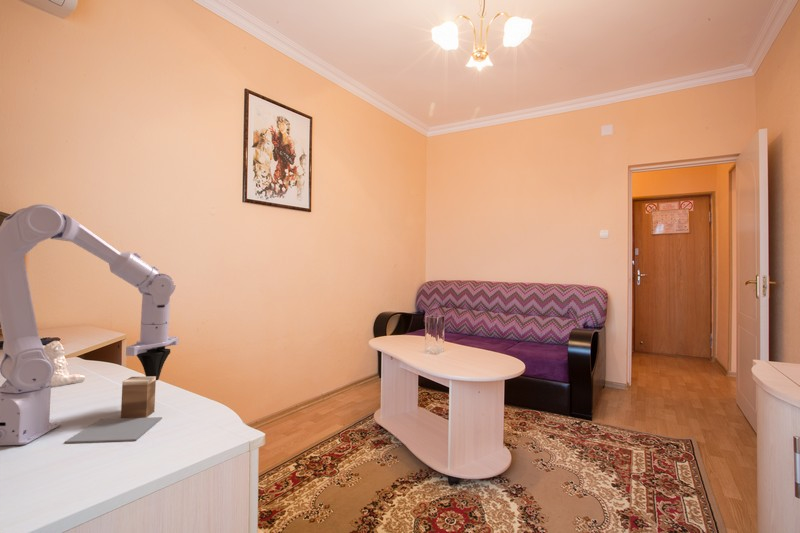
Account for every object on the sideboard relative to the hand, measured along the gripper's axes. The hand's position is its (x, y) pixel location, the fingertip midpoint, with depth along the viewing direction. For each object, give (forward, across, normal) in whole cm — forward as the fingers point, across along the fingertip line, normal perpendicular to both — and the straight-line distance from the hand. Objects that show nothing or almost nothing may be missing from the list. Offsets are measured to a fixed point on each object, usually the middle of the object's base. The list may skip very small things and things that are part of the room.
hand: (152, 380), depth 93 cm
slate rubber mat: (+6, +14, +4) cm, 16 cm away
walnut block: (+6, +6, +2) cm, 9 cm away
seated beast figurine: (+6, -10, -36) cm, 38 cm away
